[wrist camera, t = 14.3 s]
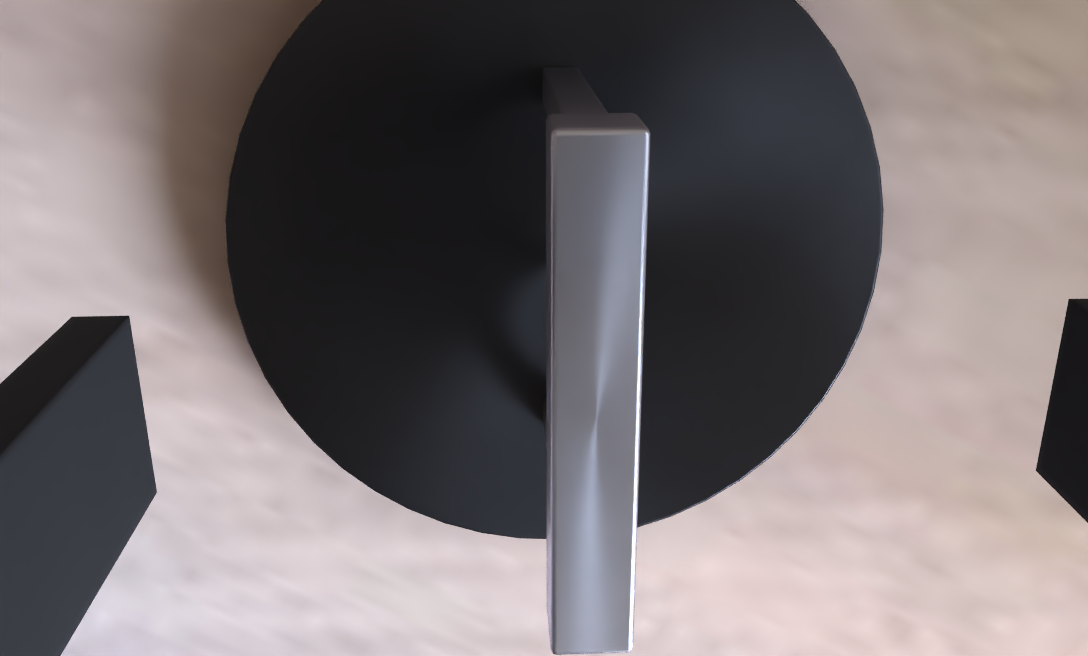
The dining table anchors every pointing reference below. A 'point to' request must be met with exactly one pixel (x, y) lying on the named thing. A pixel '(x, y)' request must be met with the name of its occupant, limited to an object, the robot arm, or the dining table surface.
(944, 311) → the dining table surface
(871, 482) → the dining table surface
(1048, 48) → the dining table surface
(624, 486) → the lid
